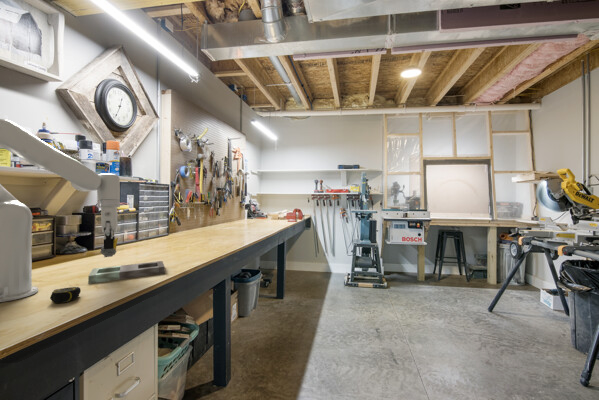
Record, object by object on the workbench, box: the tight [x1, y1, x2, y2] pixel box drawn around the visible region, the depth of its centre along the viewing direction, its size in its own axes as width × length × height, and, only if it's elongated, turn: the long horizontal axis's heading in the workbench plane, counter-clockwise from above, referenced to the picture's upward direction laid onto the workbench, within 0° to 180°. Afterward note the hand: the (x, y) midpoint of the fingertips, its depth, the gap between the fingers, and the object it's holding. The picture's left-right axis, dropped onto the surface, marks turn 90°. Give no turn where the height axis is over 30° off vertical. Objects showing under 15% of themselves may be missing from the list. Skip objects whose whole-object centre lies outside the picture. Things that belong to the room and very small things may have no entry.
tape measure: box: [49, 286, 81, 304], centre depth 84 cm, size 7×7×4 cm
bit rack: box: [87, 260, 166, 285], centre depth 112 cm, size 26×12×3 cm, turn 122°
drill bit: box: [99, 237, 119, 258], centre depth 109 cm, size 5×5×10 cm
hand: (109, 247), depth 109 cm, fingers closed on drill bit, 5 cm apart
